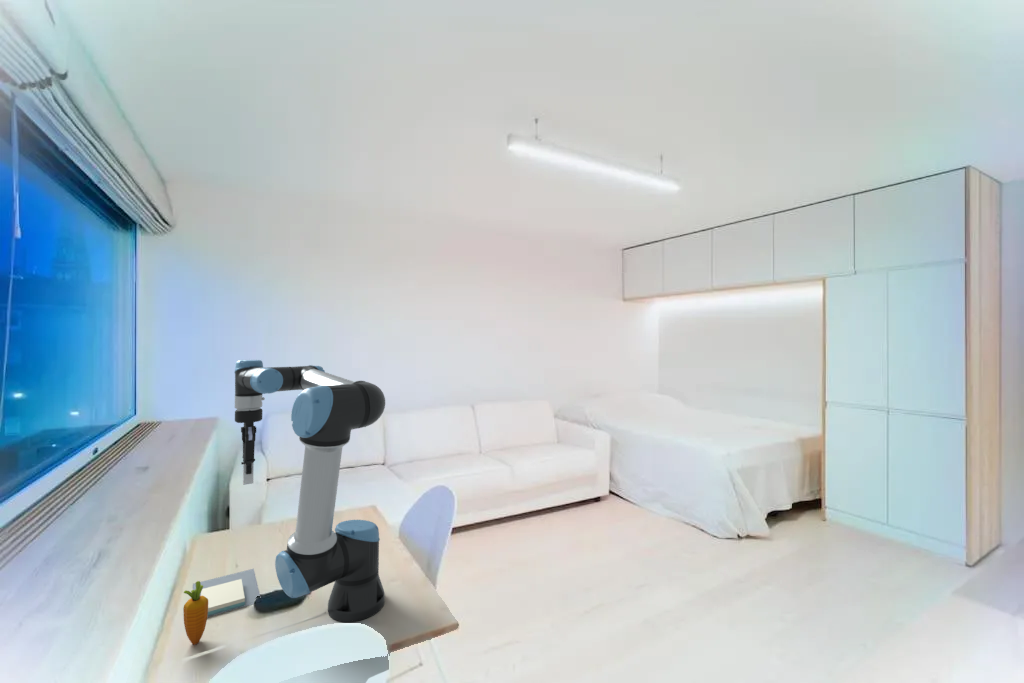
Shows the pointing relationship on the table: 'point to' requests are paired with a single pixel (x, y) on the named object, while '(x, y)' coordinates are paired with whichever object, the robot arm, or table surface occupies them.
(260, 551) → the table surface
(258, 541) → the table surface
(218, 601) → the board
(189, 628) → the carrot
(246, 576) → the mat
